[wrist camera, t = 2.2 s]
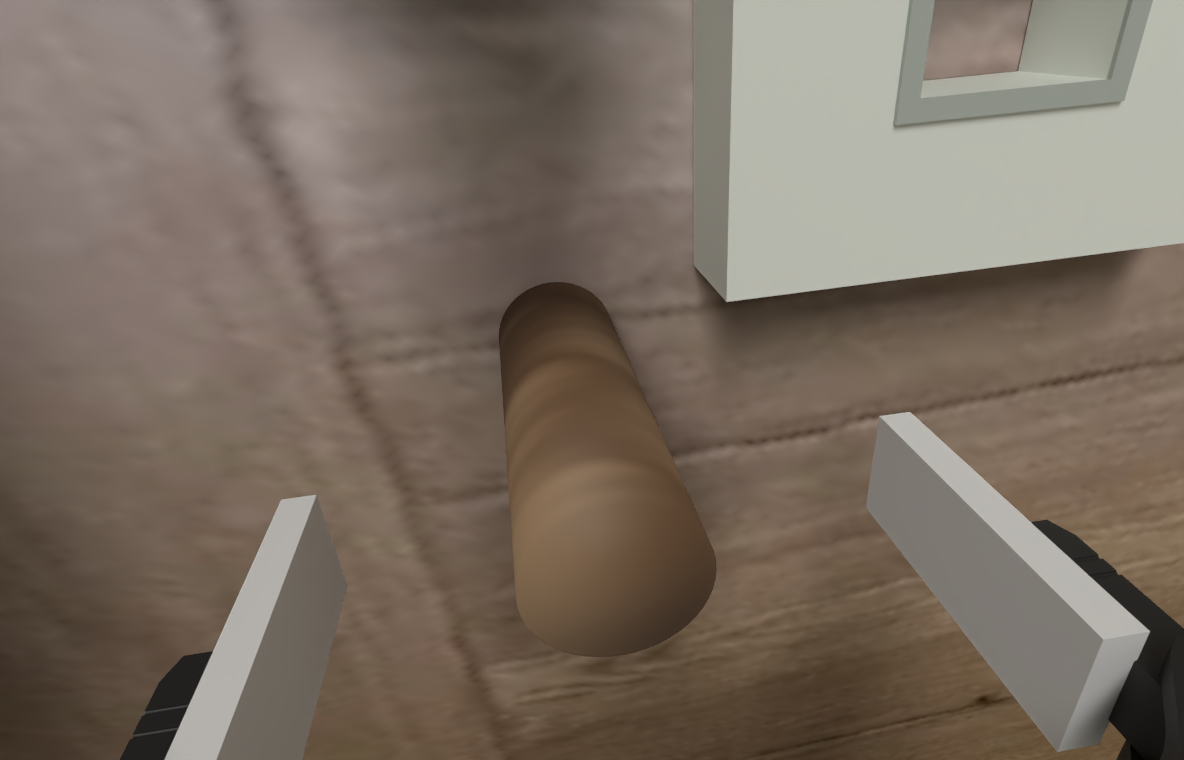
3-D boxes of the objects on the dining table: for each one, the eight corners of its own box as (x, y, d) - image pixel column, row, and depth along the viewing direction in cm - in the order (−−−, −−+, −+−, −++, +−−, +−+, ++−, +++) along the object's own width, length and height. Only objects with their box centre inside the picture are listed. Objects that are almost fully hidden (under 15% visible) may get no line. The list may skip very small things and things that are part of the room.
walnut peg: (507, 392, 24) (528, 671, 14) (491, 289, 22) (502, 523, 12) (614, 378, 25) (715, 638, 14) (608, 275, 23) (717, 489, 12)
